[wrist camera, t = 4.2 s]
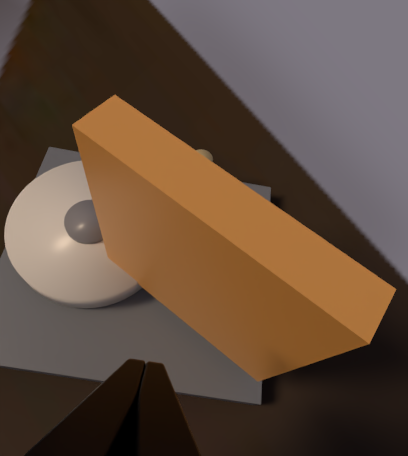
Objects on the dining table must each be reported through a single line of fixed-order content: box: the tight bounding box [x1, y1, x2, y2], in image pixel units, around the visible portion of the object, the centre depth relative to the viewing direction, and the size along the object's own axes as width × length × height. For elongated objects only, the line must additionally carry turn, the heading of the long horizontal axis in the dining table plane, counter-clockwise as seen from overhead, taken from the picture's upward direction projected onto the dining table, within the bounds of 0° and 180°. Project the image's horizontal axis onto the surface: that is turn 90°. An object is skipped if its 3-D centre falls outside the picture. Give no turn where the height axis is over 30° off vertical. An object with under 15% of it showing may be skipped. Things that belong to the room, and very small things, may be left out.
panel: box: [0, 147, 271, 405], centre depth 19 cm, size 12×14×4 cm
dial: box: [4, 95, 396, 381], centre depth 14 cm, size 15×8×10 cm, turn 53°
